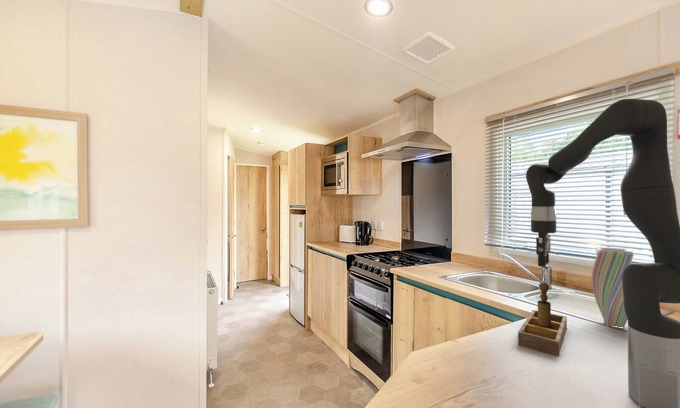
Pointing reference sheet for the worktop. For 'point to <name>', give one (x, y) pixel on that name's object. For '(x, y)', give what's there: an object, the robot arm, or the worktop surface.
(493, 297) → the worktop surface
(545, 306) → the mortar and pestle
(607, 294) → the vase
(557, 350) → the rack
